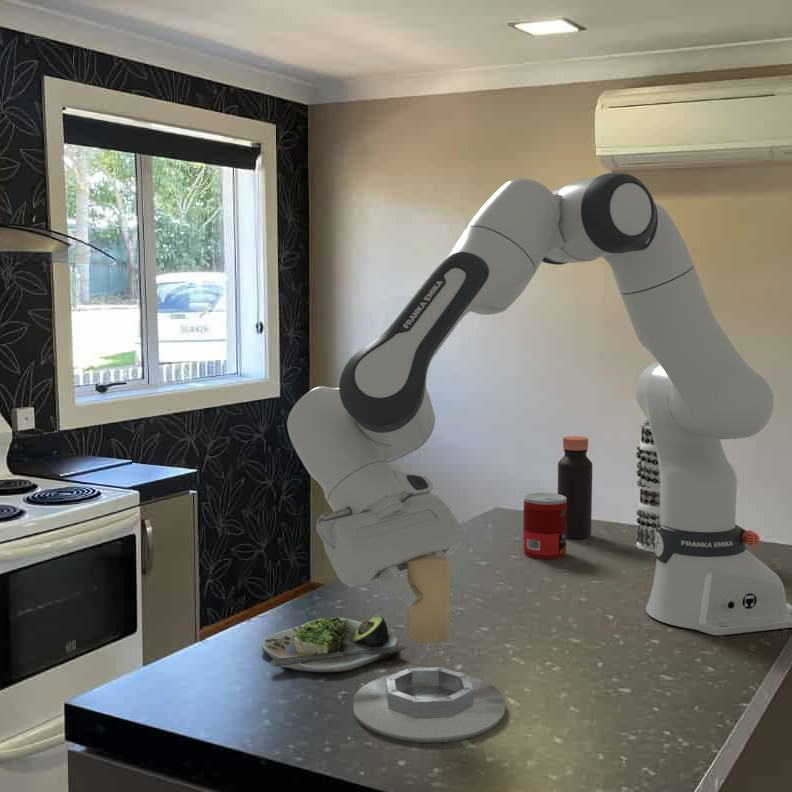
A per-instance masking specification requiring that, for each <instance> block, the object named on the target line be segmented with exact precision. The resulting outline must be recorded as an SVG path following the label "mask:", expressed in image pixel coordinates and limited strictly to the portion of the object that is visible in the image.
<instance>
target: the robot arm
mask: <svg viewBox="0 0 792 792" xmlns="http://www.w3.org/2000/svg"><path fill="white" fill-rule="evenodd" d="M653 197H654V196H652V193H651V192H650V191H649V189H648V188H647V187H646V185H645V184H644V183H643V182H642V181H641V180H640V179H639V178H637V177H635V176H634V175H631V174H627V173H621V172H609V173H603V174H601V175H598V176H594V177H587V178H583V179H579V180H575V181H572V182H570V183H568V184H566V185H564V186H562V187H560V188H557V189H555V190H552V191H551V190H550V189H549V188H548V187H547V186H545V185H543V183H540V182H539V181H536V180H534V179H531V178H523V177H522V178H521V177H520V178H519V177H518V178H512V179H511V180H509V181H506V182H505V183H504V184H502V185H500V187H499V188H498V189H497V190H496V191H495V192H494V193H493V194H492V195H491V196H490V198H488V199H487V200H486V201H485V203H484V204H483V205H482V206H481V207H480V209H479V210H478V211H477V212H476V214H475V215H474V216H473V218H472V219H471V220H470V222H469V223H468V225H467V226H466V227H465V229H464V230H463V231H462V233H461V235H460V237H458V239H457V241H456V242H455V244H454V245H453V247H452V248H451V250H450V251H449V253H448V254H447V256H446V257H445V258H444V259H443V260H442V262H441V263H440V264H439V265H438V266H437V267H436V268H435V269H433V271H432V272H431V274H430V275H429V276H428V278H427V279H426V280H425V281H424V282H423V284H422V285H421V286H420V287H419V289H418V290H417V291H416V293H415V294H414V295H413V296H412V298H411V299H410V300H409V302H408V303H407V305H406V306H405V307H404V308H403V309H402V311H401V312H400V313H399V314H398V315H397V317H396V318H395V319H394V321H393V322H392V323H391V324H390V326H389V327H388V328H387V329H386V330H385V331H384V332H383V333H382V334H381V335H380V336H378V337H377V338H375V339H374V340H373V341H371V342H370V343H367V345H365V346H364V347H362V348H361V349H359V350H358V351H357V352H356V353H355V354H353V356H351V357H350V359H349V360H348V361H347V363H345V366H344V367H343V369H342V372H341V374H340V375H341V376H340V378H339V386H338V387H330V386H326V385H325V386H324V385H323V386H322V385H321V386H317V387H314V388H313V389H311V390H309V391H308V392H306V393H305V394H303V395H302V396H300V398H299V399H298V400H297V401H296V403H295V404H294V405H293V407H292V409H290V410H291V411H290V412H289V414H288V417H287V423H286V424H287V425H286V427H287V432H288V436H289V439H290V442H291V444H292V446H293V448H294V450H295V451H296V453H297V456H298V457H299V460H301V462H302V464H303V466H304V468H305V469H306V471H307V472H308V474H309V475H310V476H311V478H313V479H314V481H316V482H317V483H318V484H319V485H320V487H321V488H322V490H323V493H324V497H325V500H326V502H327V503H328V505H329V506H330V508H331V510H332V512H325V513H324V512H323V513H322V514H320V515H319V517H318V520H317V521H316V524H315V526H316V527H315V530H316V532H317V534H318V536H319V538H320V539H321V540H322V543H323V548H324V550H325V553H326V554H327V557H328V560H329V561H330V564H331V565H332V568H333V569H334V571H335V573H336V576H338V577H337V578H338V579H339V581H340V582H341V583H342V584H344V585H345V586H347V587H349V588H350V589H353V588H356V587H359V586H363V585H365V584H368V583H370V582H374V581H377V580H379V581H380V582H381V584H382V585H383V587H384V588H386V589H387V590H389V591H390V592H392V593H394V594H395V595H396V596H398V597H399V598H400V600H401V602H402V603H403V604H404V605H405V606H406V607H409V606H412V605H414V604H417V603H418V601H420V600H421V599H422V594H421V593H420V592H419V591H418V588H417V587H416V585H412V586H411V585H409V584H408V583H407V580H405V579H404V578H403V577H401V573H402V572H404V571H407V561H409V560H412V559H416V558H419V557H422V556H425V555H435V556H441V557H445V558H448V557H449V556H451V555H453V554H454V553H455V552H457V550H458V549H459V548H460V547H461V546H462V545H463V544H464V543H465V539H466V537H465V532H464V529H463V527H462V526H461V524H460V523H459V521H458V519H457V518H456V516H455V514H453V512H452V511H451V510H450V508H449V507H448V506H447V503H445V502H444V500H443V499H442V498H441V497H439V496H438V495H437V494H434V493H432V491H433V490H434V485H433V483H432V481H431V480H430V479H429V478H428V477H427V476H425V475H420V474H413V473H408V472H405V471H400V470H398V469H393V468H392V467H391V466H390V465H389V464H388V463H391V462H394V461H395V460H398V459H400V458H403V457H404V456H406V455H409V454H410V453H413V452H414V451H416V450H417V449H419V448H421V447H422V446H423V445H424V444H425V443H426V442H427V441H428V440H429V438H430V437H431V435H432V433H433V430H434V427H435V420H436V418H435V410H434V407H433V405H432V403H433V402H432V400H431V397H430V394H429V392H428V389H427V379H428V373H429V372H428V371H429V367H430V365H431V362H432V360H433V359H434V358H435V356H436V354H437V353H438V352H439V351H440V349H441V347H443V345H444V343H445V342H446V341H447V340H448V338H449V337H450V335H451V334H452V333H453V331H454V330H455V328H457V326H458V325H459V323H460V322H461V321H462V319H463V318H464V317H465V316H466V315H467V314H469V313H470V312H472V313H474V314H477V315H485V316H487V315H495V314H500V313H502V312H505V311H507V310H508V309H509V308H510V307H511V306H512V305H513V303H515V301H516V300H517V299H518V298H519V297H520V296H521V295H522V294H523V292H524V291H525V289H526V288H527V287H528V285H529V283H530V282H531V280H532V279H533V277H534V276H535V274H536V272H537V270H538V269H539V267H540V266H541V264H542V263H545V264H548V265H549V264H550V265H555V266H556V265H566V264H571V263H573V264H575V263H585V262H593V261H595V260H598V259H599V258H603V259H604V260H605V261H606V262H607V263H608V264H609V267H610V268H611V270H612V274H613V276H614V280H615V283H616V285H617V288H618V291H619V293H620V296H621V300H622V301H623V305H624V307H625V309H626V312H627V315H628V317H629V320H630V323H631V325H632V327H633V330H634V333H635V335H636V338H637V339H638V342H639V343H640V344H641V345H642V346H643V347H644V349H646V350H647V351H649V352H650V353H651V355H652V356H653V357H654V359H655V360H656V361H657V362H654V363H652V364H649V365H648V366H647V367H646V368H645V369H644V370H643V372H642V373H641V374H640V376H639V378H638V380H637V384H636V389H635V393H636V394H635V395H636V400H637V403H638V405H639V408H640V409H641V410H642V412H643V413H644V415H645V417H646V420H647V419H648V422H649V425H650V428H651V432H652V436H653V440H654V444H655V449H656V453H657V458H658V464H659V473H660V511H659V520H658V521H657V523H656V533H655V552H654V553H655V558H656V563H655V572H654V577H653V582H652V588H651V591H650V593H649V599H648V602H647V604H646V607H645V611H646V613H647V614H648V615H649V616H650V617H652V618H653V619H655V620H657V621H659V622H662V623H665V624H668V625H671V626H676V627H680V628H685V629H691V630H695V631H699V632H703V633H705V634H708V635H713V636H725V635H735V634H742V633H743V634H744V633H745V634H746V633H754V632H762V631H771V630H779V629H788V628H792V605H791V604H790V603H788V602H787V597H786V591H785V586H784V583H783V582H782V579H781V578H780V577H779V576H778V574H777V573H776V572H774V571H773V569H771V568H770V567H768V566H767V565H766V564H765V563H764V562H763V561H761V560H760V559H759V558H758V557H756V556H755V555H754V554H752V553H751V552H750V551H748V549H747V547H746V546H747V545H748V546H750V547H756V546H758V545H759V544H760V541H761V536H760V535H759V534H758V533H757V532H754V531H753V530H750V529H749V530H746V529H744V528H743V527H740V526H739V525H737V524H736V514H737V513H736V511H737V509H736V508H737V490H738V489H737V486H738V485H737V484H738V479H737V475H736V472H735V469H734V467H733V466H732V464H731V463H730V462H729V461H728V458H727V456H726V454H725V451H724V447H723V446H722V440H736V439H746V438H750V437H753V436H754V435H757V434H759V433H760V432H761V431H762V430H763V429H764V428H765V427H766V426H767V425H768V422H769V421H770V420H771V416H772V413H773V409H774V396H773V395H774V394H773V390H772V388H771V386H770V384H769V383H768V381H767V380H766V379H765V378H764V377H763V376H761V374H759V373H758V372H757V371H756V370H754V369H753V368H752V367H751V366H750V365H749V364H748V363H747V362H746V361H745V359H744V358H743V357H742V355H741V354H740V352H739V351H738V350H737V349H736V347H735V346H734V345H733V343H732V342H731V340H730V339H729V337H728V336H727V335H726V333H725V331H724V330H723V328H722V327H721V325H720V323H719V321H718V320H717V318H716V317H715V314H714V313H713V311H712V309H711V306H710V303H709V302H708V299H707V296H706V293H705V291H704V288H703V286H702V283H701V280H700V278H699V275H698V273H697V270H696V268H695V264H694V262H693V259H692V256H691V254H690V252H689V249H688V247H687V245H686V243H685V241H684V238H683V236H682V234H681V232H680V231H679V230H678V227H677V226H676V224H675V222H674V220H673V219H672V217H671V215H670V214H669V213H668V211H667V210H666V209H665V207H663V206H661V205H659V204H658V203H657V204H656V203H655V200H654V198H653ZM455 587H456V581H455V579H454V578H453V576H452V575H451V574H450V592H451V591H452V590H453V589H454V588H455Z"/></svg>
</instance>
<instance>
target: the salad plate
mask: <svg viewBox="0 0 792 792" xmlns="http://www.w3.org/2000/svg"><path fill="white" fill-rule="evenodd" d="M388 631H389V630H388V626H387V622H386V620H385V618H384V617H383V616H380V615H376V616H373V617H370V618H367V620H365V621H363V622H360V621H359V620H355V619H351V618H344V617H338V616H336V617H333V616H331V617H322V618H316V619H315V620H314V619H313V620H311V621H307V622H306V623H304V624H302V625H301V624H300V625H298V626H295V627H291V628H289V629H283V630H282V631H278V632H275V633H272V634H269V635H267V636H266V637H265V638H264V639H263V641H262V645H261V649H262V651H263V652H265V654H266V655H268V656H269V658H270V659H271V660H270V662H269V663H270V664H269V665H270V666H271V667H274V668H288V669H291V670H295V671H298V672H299V671H300V672H310V673H311V672H314V673H341V672H347V671H351V670H354V669H357V668H360V667H363V666H367V665H369V664H373V663H375V662H376V663H377V662H379V661H381V660H385V659H386V658H389V657H390V656H392V655H394V654H396V653H398V652H401V651H403V650H404V649H406V648H407V646H404V645H399V640H398V638H397V636H396V635H394V634H391V633H389V632H388ZM293 643H294V645H293V646H294V650H295V652H296V653H295V654H289V653H286V650H287V648H288V647H289V646H290V645H292V644H293Z"/></svg>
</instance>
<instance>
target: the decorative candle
mask: <svg viewBox="0 0 792 792" xmlns="http://www.w3.org/2000/svg"><path fill="white" fill-rule="evenodd" d="M639 427H640V428H641V439H640V445H639V446H638V447H637V446H636V448H637V449H636V450H637V451H636V458H637V459H639V461H638V462H636V466H637V470H636V476H637V477H639V479H638V480H637V481H636V484H637V488H638V489H639V500H638V510H636V515H637V516H638V517H637V519H636V523H637V524H638V526H636V528H635V530H636V533H637V534H636V536H635V539H636V541H637V542H636V548H637V547H638V549H640V550H641V549H642V551H644V550H645V552H648V551H649V552H650V553H655V533H656V523H657V521H658V520H659V511H660V473H659V464H658V458H657V453H656V449H655V444H654V440H653V436H652V432H651V428H650V425H649V422H648V419H647V418H646V420H645V422H644V423H643V424H642V425H640V426H639Z"/></svg>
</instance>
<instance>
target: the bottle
mask: <svg viewBox="0 0 792 792" xmlns="http://www.w3.org/2000/svg"><path fill="white" fill-rule="evenodd" d="M562 440H563V441H562V448H563V450H562V451H563V452H564V455H563V456H562V458H560V460H559V461H558V462H557V494H560V495H563V496H565V497H566V498H567V524H566V540H585V539H588V538H591V536H592V514H593V513H592V511H593V507H592V505H593V497H592V496H593V462H592V461H591V460H590V459H589V458H588V456H587V453H588V449H589V438H588V437H585V436H576V435H574V436H573V435H572V436H571V435H570V436H569V435H568V436H564V437H563V439H562Z"/></svg>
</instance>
